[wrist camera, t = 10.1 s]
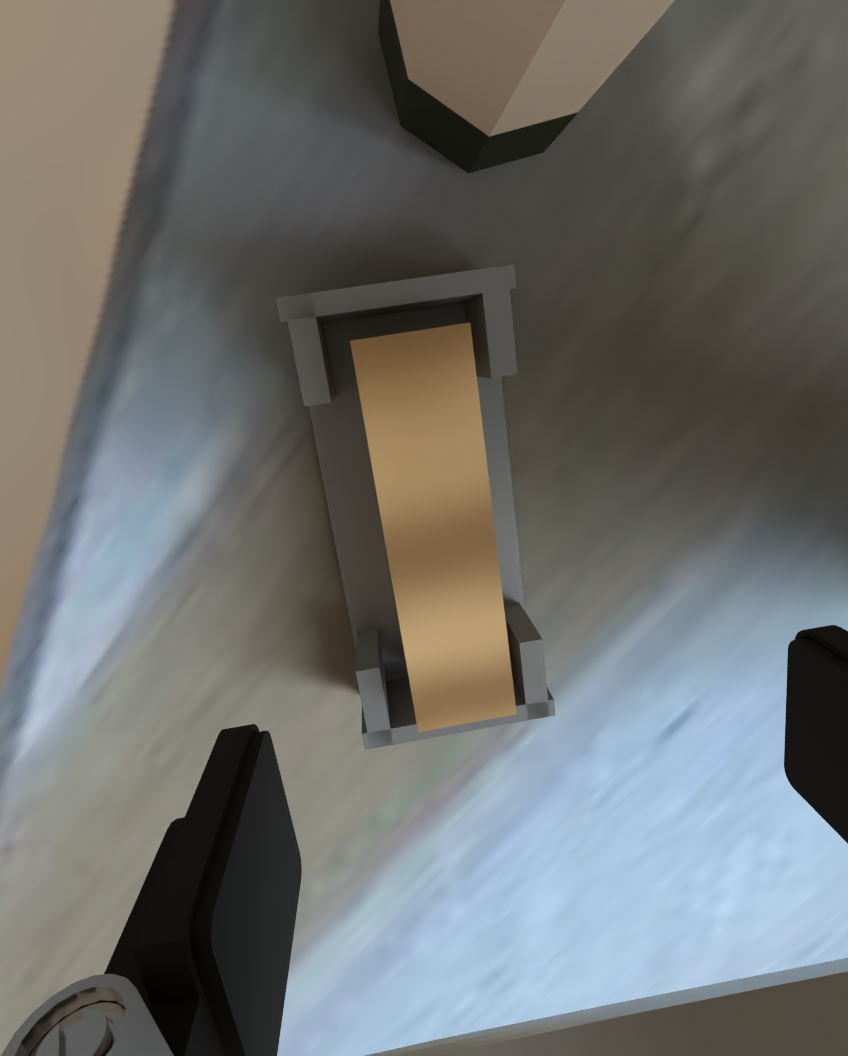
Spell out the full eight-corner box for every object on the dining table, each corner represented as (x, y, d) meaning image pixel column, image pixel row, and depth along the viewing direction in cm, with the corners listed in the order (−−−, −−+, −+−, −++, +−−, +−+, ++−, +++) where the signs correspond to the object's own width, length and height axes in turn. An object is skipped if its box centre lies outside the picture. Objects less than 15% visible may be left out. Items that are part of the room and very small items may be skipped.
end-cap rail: (290, 303, 25) (274, 291, 21) (488, 275, 26) (514, 258, 21) (365, 696, 30) (365, 753, 26) (528, 667, 31) (555, 719, 26)
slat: (353, 345, 25) (349, 340, 19) (446, 330, 25) (470, 322, 20) (407, 659, 29) (418, 732, 24) (487, 645, 30) (516, 714, 24)
